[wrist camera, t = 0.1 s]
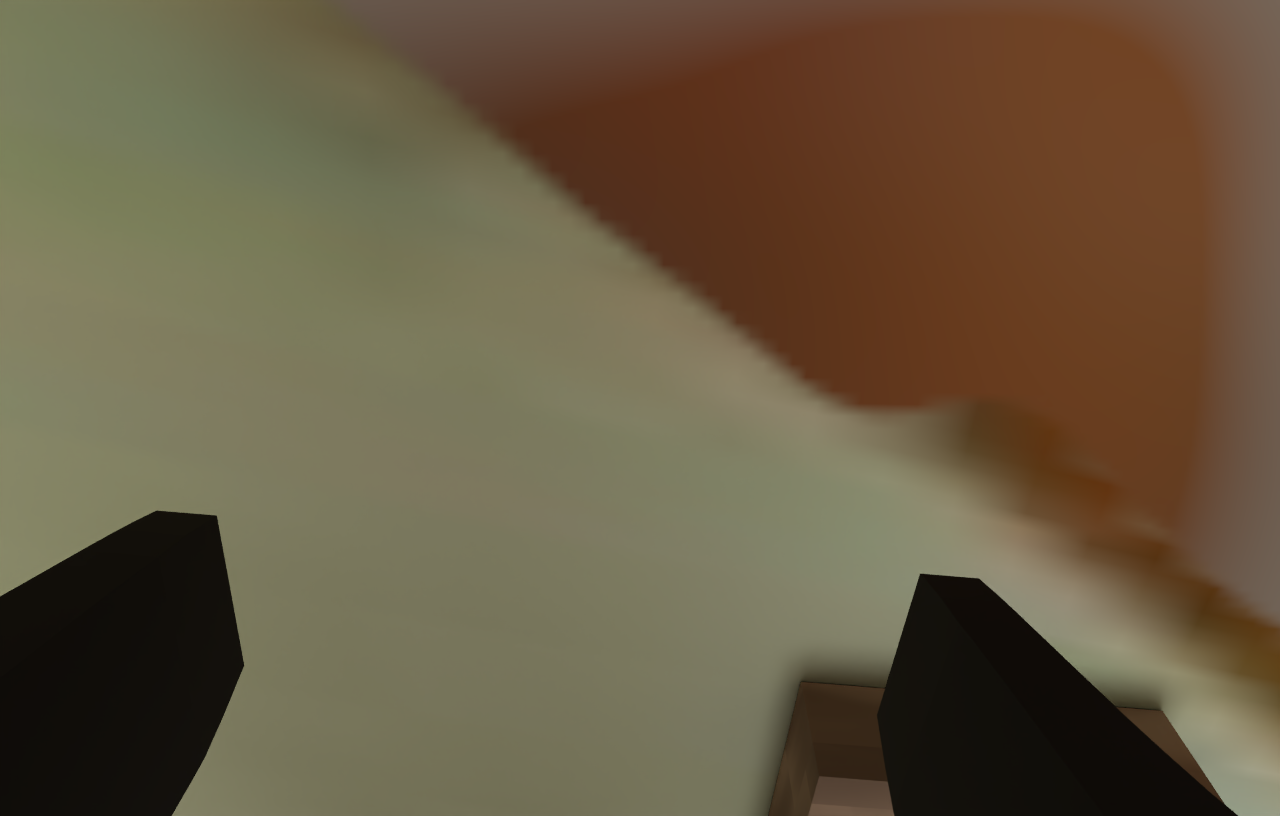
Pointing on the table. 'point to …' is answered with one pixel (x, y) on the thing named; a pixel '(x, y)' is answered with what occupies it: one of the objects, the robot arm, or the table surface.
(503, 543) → the table surface
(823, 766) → the box
